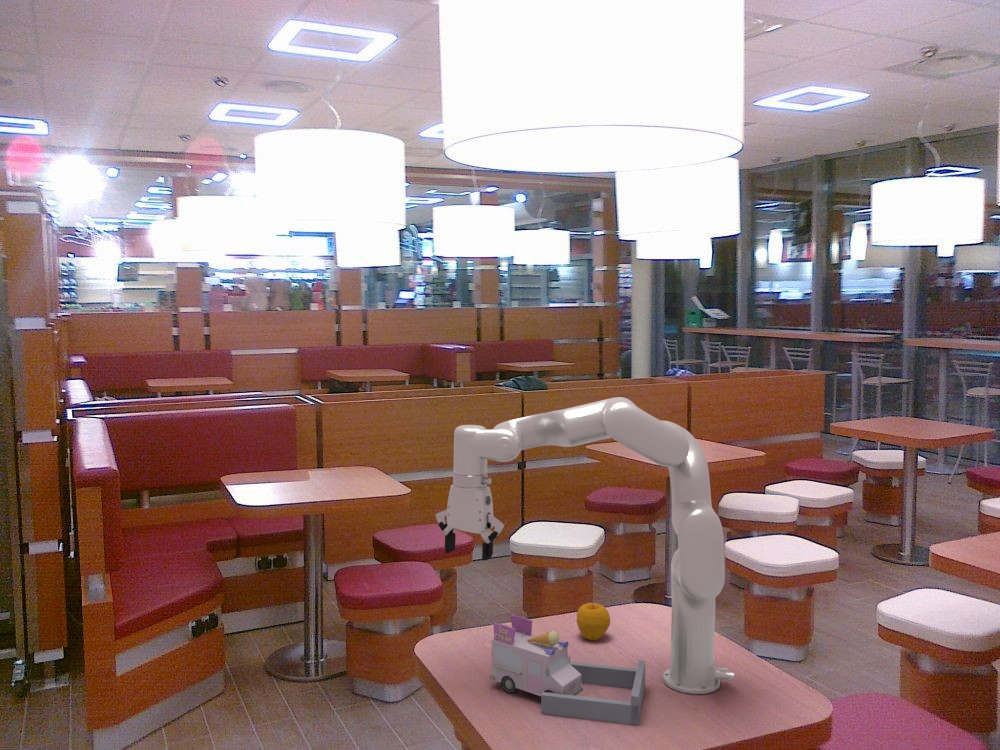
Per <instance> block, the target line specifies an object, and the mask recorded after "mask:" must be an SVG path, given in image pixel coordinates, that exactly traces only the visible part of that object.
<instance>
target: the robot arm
mask: <svg viewBox="0 0 1000 750" xmlns="http://www.w3.org/2000/svg"><path fill="white" fill-rule="evenodd" d="M611 438H612V439H613V440H614V441H616V442H618V443H619V444H621V445H623V446H624V447H626V448H627V449H630V450H631V451H633V452H635V453H637V454H638V455H641V456H642V457H643V458H646V459H648V460H649V461H651V462H653V463H655V464H657V465H659V466H661V467H665V468H667V469H668V472H669V473H668V474H669V478H670V480H669V481H670V491H671V493H670V494H671V524H672V528H673V531H674V532H675V534H676V536H677V547H678V548H677V549H676V550H675V552H674V553H673V555H672V559H671V563H670V576H671V577H670V579H671V580H670V581H671V613H670V614H671V616H670V618H671V619H670V620H671V623H670V664H669V668H667V669H666V670H664V672H663V674H662V681H663V683H664V684H665V685H666V686H667V687H669V688H671V689H673V690H675V691H676V692H681V693H685V694H691V695H704V694H709V693H712V692H716V691H717V690H718V689H719V688H720V686H721V681H722V680H724V681H728V682H734V681H735V671H729V668H727V667H718V665H716V660H715V625H716V598H717V597H718V596H719V594H720V593H721V592H722V591H723V588H724V585H725V580H726V579H725V578H726V574H725V573H726V568H725V566H726V565H725V543H724V530H723V526H722V522H721V520H720V517H719V516H718V514H717V513H716V512H715V510H714V508H713V503H712V495H711V494H712V493H711V482H710V472H709V471H710V470H709V466H708V460H707V457H706V455H705V453H704V451H703V448H702V446H701V445H700V443H699V441H697V439H696V438H695V436H693V434H692V433H690V431H688V430H687V429H686V428H684V427H683V426H681V425H679V424H677V423H676V422H672V421H668V420H661V419H659V418H657V417H655V416H653V415H652V414H649V413H648V412H646V411H645V410H643V409H641V408H640V407H638V406H637V405H636V404H635V403H634V402H633V401H631V400H630V399H629V398H626V397H622V396H618V397H611V398H606V399H602V400H598V401H594V402H589V403H585V404H580V405H575V406H572V407H568V408H567V407H566V408H563V409H558V410H553V411H549V412H542V413H538V414H537V413H536V414H532V415H527V416H524V417H523V416H522V417H520V418H519V417H517V418H514V419H510V420H507V421H503V422H500V423H498V424H496V425H495V426H494V427H493V428H491V429H490V428H489V429H488V428H486V427H485V426H482V425H478V424H462V425H459V426H457V427H455V429H454V433H453V469H452V470H453V474H452V475H453V476H452V484H451V485H450V489H449V491H448V492H449V493H448V496H447V497H448V499H447V507H446V509H444V510H441V511H439V512H437V513H436V514H435V518H436V522H437V523H438V527H439V528H440V530H441V531H442V535H443V536H444V548H445V549H444V550H445V554H449V553H452V552H454V551H455V550H456V536H457V535H456V532H455V530H457V531H461V532H462V531H463V532H468V533H473V534H479V535H480V536H481V539H483V541H484V542H482V546H481V547H482V548H481V549H482V550H481V551H482V552H481V553H482V554H481V559H482V560H483V561H487V560H489V559H491V558H492V557H493V554H494V541H495V540H496V539H497V538H498V537H499V536H500V535H501V533H502V531H503V529H504V528H505V524H504V523H503V522H502V521H501V520H499V519H498V518H496V516H494V503H493V496H492V491H491V487H490V486H487V485H491V484H492V478H490V477H488V460H491V461H495V462H501V463H505V462H511V461H513V460H514V459H516V458H517V457H518V456H519V455H520V453H521V451H524V450H528V449H534V448H537V447H538V448H539V447H544V446H545V447H546V446H557V447H562V448H572V447H577V446H580V445H581V446H582V445H585V444H588V443H593V442H597V441H602V440H607V439H611ZM445 517H446V519H445ZM493 528H494V530H493V531H492V529H493Z"/></svg>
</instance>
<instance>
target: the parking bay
mask: <svg viewBox="0 0 1000 750" xmlns="http://www.w3.org/2000/svg"><path fill="white" fill-rule="evenodd" d="M570 665H571V666H572V667H574V668H575V669H576V670H577V671H578V672H579V673H580V674H581V675H582V679H581V684H588V685H598V686H607V687H615V688H624V689H625V688H626V689H632V690H631V694H630V701H625V700H617V699H615V700H614V699H608V698H607V699H606V698H600V697H599V698H598V697H591V696H581V695H576V696H574V695H565V694H557V693H548V692H542V695H541V696H540V698H541V699H540V700H541V702H540V709H541V710H540V714H543V715H550V716H557V717H559V716H560V717H568V718H575V719H581V720H582V719H584V720H590V721H591V720H592V721H601V722H607V723H608V722H610V723H618V724H625V725H634V726H638V725H639V721H640V716H641V711H642V710H641V709H642V704H643V700H644V693H645V688H646V660H638V661H637V666H636V668H633V667H624V666H623V667H622V666H614V665H606V664H605V665H603V664H595V663H586V662H577V661H570Z"/></svg>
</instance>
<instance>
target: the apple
mask: <svg viewBox="0 0 1000 750" xmlns="http://www.w3.org/2000/svg"><path fill="white" fill-rule="evenodd" d="M576 624H577V628H578V630H579V632H580V634H581V636H582V637H583V638H584V639H585V640H588V641H594V642H595V641H598V640H599V639H601V638H602V637H603V636H604V635H605V633H606V632H607V631H608V629H609V627H610V625H611V617H610V613H609V611H608V610H607V609H606V607H605V606H604V605H602V604H599V603H596V602H587V603H583V605H581V606H579V608H578V609H577V612H576Z"/></svg>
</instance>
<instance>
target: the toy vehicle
mask: <svg viewBox="0 0 1000 750" xmlns="http://www.w3.org/2000/svg"><path fill="white" fill-rule="evenodd" d="M509 616H510V617H509V618H510V623H511V626H509V625H506V624H502V623H497V622H493V626H492V627H493V638H492V639H491V674H490V675H489V679H490V680H491V681H493V682H494V681H495V682H498V683H499V688H503V690H505V692H507V693H509V694H511V693H515V692H516V691H517V689H518V690H521V691H524V692H527V693H530V694H533V695H536V696H539V697H541V695H542V692H548V693H557V694H565V695H574V696H578V694H580V693H581V692H583V691H584V686H582V683H581V679H582V675H581V674H580V673H579V672H578V671H577V670H576V669H575V668H574V667H572V666H571V665H570V662H571V656H569V653H568V652H569V651H568V647H569V641H560V635H559V634H558V633H557V631H555V630H550V631H547V632H544V633H541V634H539V635H537V636H535V635H532V633H533V632H532V631H533V629H532V628H533V620H532V619H529V618H526V617H524V616H520V615H515V614H510V615H509Z"/></svg>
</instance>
